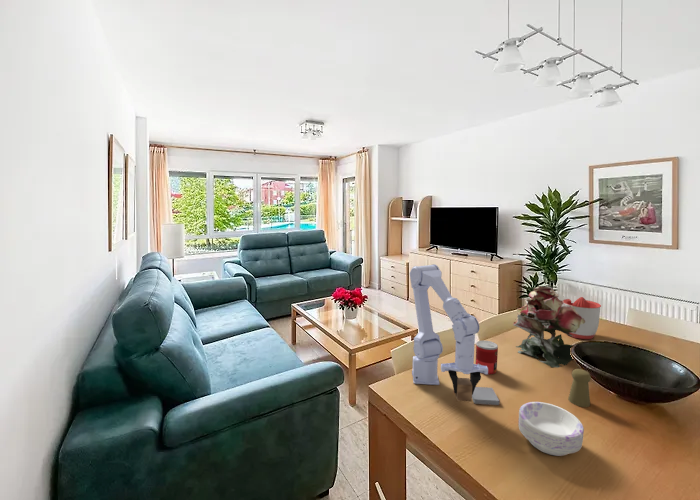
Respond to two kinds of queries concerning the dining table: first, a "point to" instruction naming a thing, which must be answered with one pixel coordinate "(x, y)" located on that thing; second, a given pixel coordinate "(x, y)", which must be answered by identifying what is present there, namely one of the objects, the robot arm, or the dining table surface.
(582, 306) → the citrus juicer
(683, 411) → the dining table surface
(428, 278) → the robot arm
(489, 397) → the slate slab
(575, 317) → the rose bouquet
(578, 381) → the olive green pawn
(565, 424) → the paper bowls
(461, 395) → the walnut block
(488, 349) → the canned food
